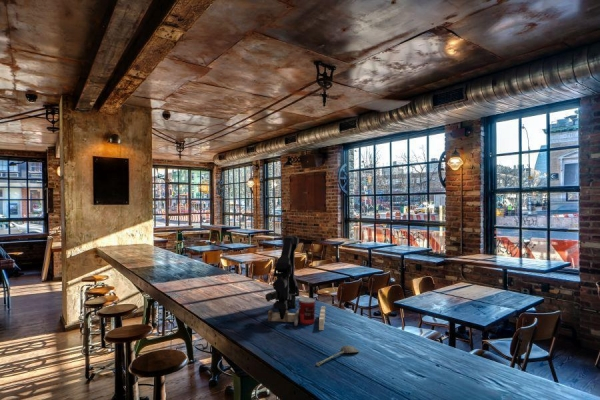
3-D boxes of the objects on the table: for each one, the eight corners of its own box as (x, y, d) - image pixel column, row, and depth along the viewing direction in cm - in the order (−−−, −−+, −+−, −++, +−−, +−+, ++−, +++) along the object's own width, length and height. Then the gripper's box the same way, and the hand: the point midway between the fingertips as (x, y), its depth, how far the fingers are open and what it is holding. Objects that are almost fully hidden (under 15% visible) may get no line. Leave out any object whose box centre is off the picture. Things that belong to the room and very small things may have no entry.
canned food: (303, 318, 178) (304, 296, 178) (317, 321, 174) (317, 299, 174) (295, 322, 172) (295, 300, 172) (309, 325, 167) (310, 302, 168)
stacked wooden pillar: (266, 324, 169) (266, 314, 169) (271, 316, 181) (271, 307, 181) (297, 325, 167) (297, 316, 167) (300, 317, 179) (300, 308, 179)
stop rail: (321, 316, 182) (321, 306, 182) (325, 316, 182) (325, 306, 182) (319, 329, 162) (319, 319, 162) (323, 330, 162) (323, 319, 162)
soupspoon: (362, 354, 139) (349, 350, 144) (362, 346, 139) (349, 341, 144) (323, 370, 124) (310, 364, 129) (323, 360, 125) (310, 355, 129)
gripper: (270, 281, 185) (270, 311, 184) (262, 290, 166) (262, 323, 166) (291, 282, 183) (291, 312, 183) (286, 291, 165) (285, 325, 165)
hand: (282, 318), depth 174 cm, fingers closed on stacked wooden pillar, 2 cm apart
